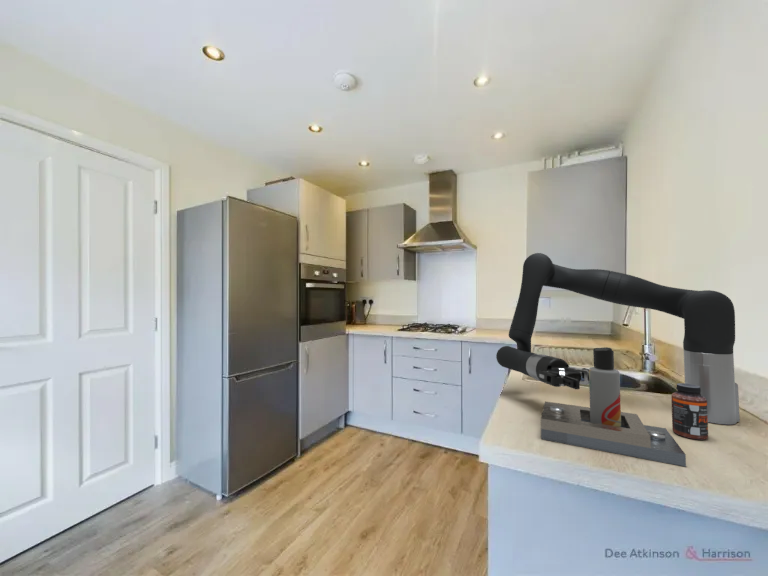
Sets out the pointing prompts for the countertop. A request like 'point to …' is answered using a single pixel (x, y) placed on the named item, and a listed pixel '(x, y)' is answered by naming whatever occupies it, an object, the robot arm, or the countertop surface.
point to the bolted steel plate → (609, 434)
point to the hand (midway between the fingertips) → (594, 384)
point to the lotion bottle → (604, 389)
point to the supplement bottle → (689, 412)
